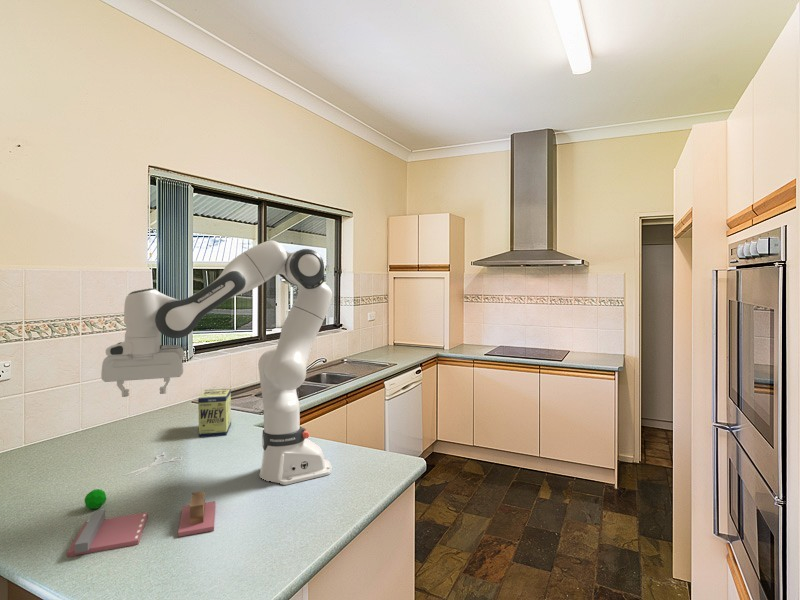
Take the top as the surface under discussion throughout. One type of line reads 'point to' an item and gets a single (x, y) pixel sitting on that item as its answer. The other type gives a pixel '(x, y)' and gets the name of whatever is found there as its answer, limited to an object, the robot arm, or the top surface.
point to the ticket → (108, 533)
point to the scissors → (155, 463)
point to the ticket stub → (197, 516)
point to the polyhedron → (95, 499)
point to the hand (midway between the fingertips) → (144, 394)
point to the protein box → (214, 412)
